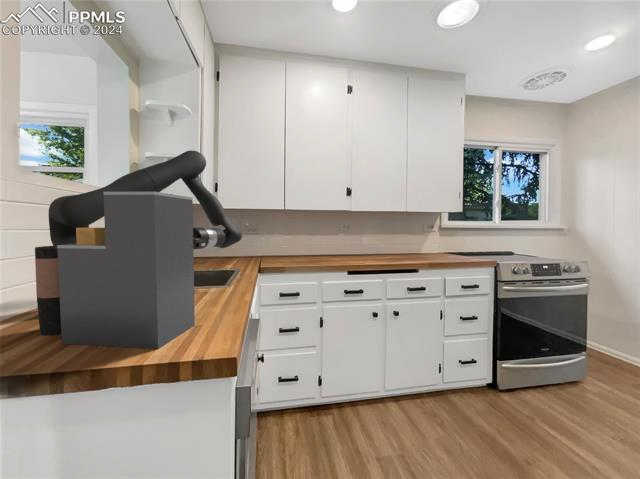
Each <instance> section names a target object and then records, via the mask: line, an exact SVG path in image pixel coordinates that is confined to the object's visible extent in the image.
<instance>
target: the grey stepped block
mask: <svg viewBox="0 0 640 479" xmlns="http://www.w3.org/2000/svg"><path fill="white" fill-rule="evenodd" d="M103 193H104V217H103V218H104V219H103V220H104V228H105V244H104V245H77V244H65V245H57V250H58V271H59V293H60V314H61V334H60V335H61V344H65V345H82V346H98V347H99V346H101V347H117V348H118V347H119V348H132V349H133V348H135V349H150V350H153V349H154V350H159V349H160V348H163V346H165V345H167V344H168V343H170V342H171V341H173V340H174V339H176V338H178V337H179V336H180V335H182V334H184V333H185V332H186V331H188V330H190V329H192V328H193V327H194V326H195V324H196V323H195V322H196V320H195V317H196V316H195V310H196V309H195V269H194V268H195V267H194V265H195V264H194V263H195V260H194V257H195V256H194V249H193V227H194V223H193V222H194V214H193V211H194V210H193V204H194V202H193V197H192V196H185V195H179V194H173V193H165V192H161V191H160V192H103Z"/></svg>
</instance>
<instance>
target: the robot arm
mask: <svg viewBox="0 0 640 479" xmlns="http://www.w3.org/2000/svg"><path fill="white" fill-rule="evenodd" d="M206 167H207V160H206V157H205V156H204V155H203V154H202V153H201V152H199V151H196V150H187V151H185V152H183V153H180V154H179V155H177V156H175V157H172V158H170V159H169V160H166V161H161V162H159V163H156V164H153V165H149V166H147V167H144V168H140V169H137V170H135V171H132V172H129V173H127V174H123V175H122V176H120V177H119V178H117V179H116V180H113V181H112V182H110V183H109V184H107V185H106V186H104V187H100V188H97V189H94V190H90V191H87V192H83V193H78V194H72V195H64V196H59V197H57V198H55V199H54V200H53V201H52V202H51V203H50V205H49V207H48V226H49V227H48V228H49V237H50V241H51V244H52V246H57V245H65V244H77V237H76V228H90V226H91V225H92V224H94V223H96V222H97V221H98V220H101V219H103V218H104V193H103V192H160V193H161V192H162V191H164V190H165V189H167V188H168V187H170V186H171V185H173V184H174V183H175V182H178V181H179V180H180V179H181V180H182V182H183V183H184V184H185V185H186V187H187V188H188V190H189V191H190V193H192V195H193V196H194V197H195V199H196V200H197V202H198V203H199V205H200V206H201V209H202V210H203V211H204V213H205V215H206V217H207V218H208V220H209V222H210V224H211V226H213V227H211V228H210V227H196V226H195V227H194V226H193V250H202V249H209V248H215V247H216V248H218V249H219V248H220V249H225V248H229V247H231V246H233V245H235V244H237V243H238V242H240V241H242V238H243V235H242V231H241V229H240V227H238V225H236V224H235V222H234V221H232V219H231V218H230V217H229V216H228V215H227V213H226V211H225V208H224V207H223V205H222V203H221V201H220V200H219V199H218V198H217V197H216V196H215V195H214V194H213V193H211V192H210V191H209V190H208V189H207V187H205V185H204V184H203V182H202V180H201V178H200V177H201V176H200V174H202V173H203V172H204V171H205V168H206ZM218 226H222V227H223V228H224V229H220V228H215V227H218Z"/></svg>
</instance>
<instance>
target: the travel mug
mask: <svg viewBox="0 0 640 479" xmlns="http://www.w3.org/2000/svg"><path fill="white" fill-rule="evenodd" d="M34 264H35V284H36V285H35V288H36V291H35V292H36V301H37V302H36V303H37V315H38V325H39V326H38V327H39V334H41V335H42V336H55V335H61V314H60V293H59V271H58V250H57V246H53V245H43V246H42V245H41V246H35V247H34Z"/></svg>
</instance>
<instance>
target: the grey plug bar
mask: <svg viewBox="0 0 640 479" xmlns="http://www.w3.org/2000/svg"><path fill="white" fill-rule="evenodd" d="M76 237H77V245H104V244H105V227H89V228H76Z"/></svg>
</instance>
